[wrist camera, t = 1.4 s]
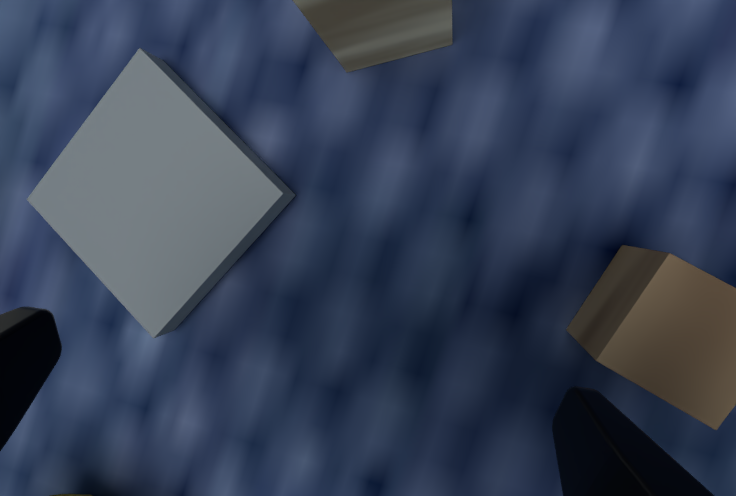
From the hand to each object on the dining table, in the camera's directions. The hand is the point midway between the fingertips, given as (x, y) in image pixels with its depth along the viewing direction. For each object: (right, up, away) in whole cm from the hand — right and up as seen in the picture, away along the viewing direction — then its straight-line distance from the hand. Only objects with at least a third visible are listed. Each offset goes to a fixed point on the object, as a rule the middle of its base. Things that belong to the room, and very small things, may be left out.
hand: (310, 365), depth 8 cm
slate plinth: (-8, +4, +13) cm, 16 cm away
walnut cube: (+12, -1, +10) cm, 15 cm away
